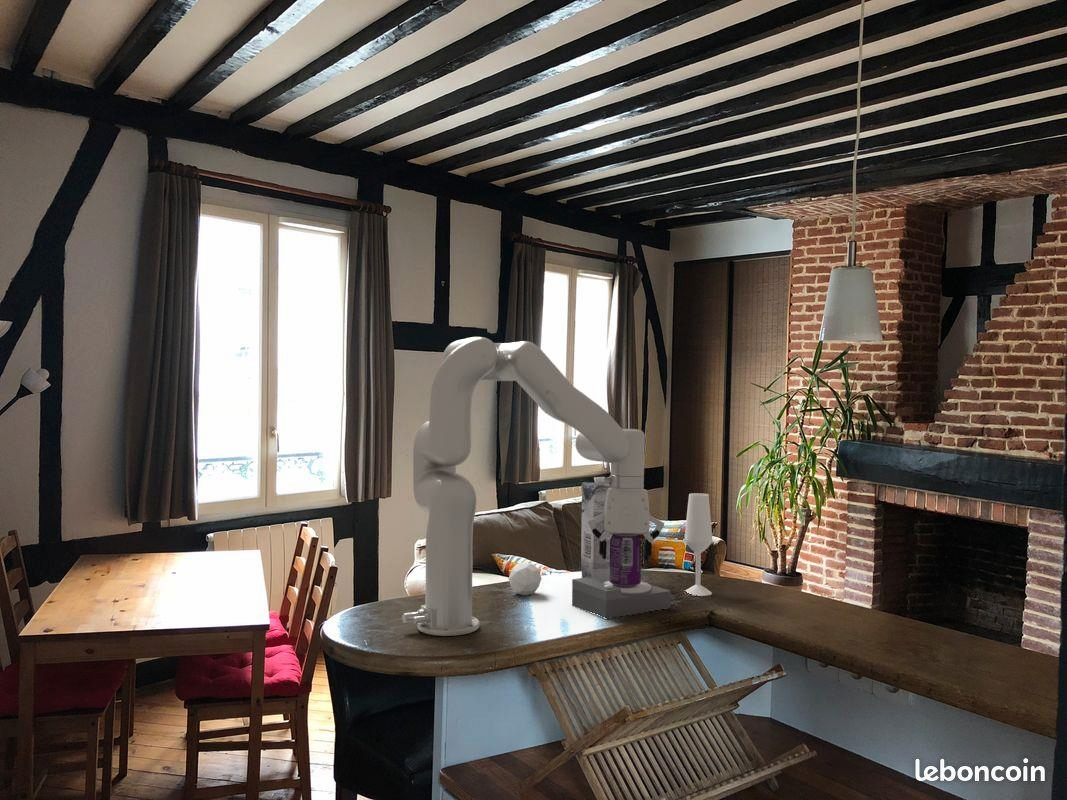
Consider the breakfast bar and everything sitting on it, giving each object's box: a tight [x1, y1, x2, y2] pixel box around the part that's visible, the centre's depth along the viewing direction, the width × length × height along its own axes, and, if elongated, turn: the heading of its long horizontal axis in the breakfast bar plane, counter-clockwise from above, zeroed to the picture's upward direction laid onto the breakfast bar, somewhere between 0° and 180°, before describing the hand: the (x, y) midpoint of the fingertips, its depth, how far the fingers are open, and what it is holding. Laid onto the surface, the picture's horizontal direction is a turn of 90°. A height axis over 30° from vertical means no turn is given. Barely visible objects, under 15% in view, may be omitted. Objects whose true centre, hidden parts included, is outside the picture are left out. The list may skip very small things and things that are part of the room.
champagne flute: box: [684, 492, 713, 597], centre depth 195 cm, size 7×7×24 cm
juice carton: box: [580, 476, 612, 583], centre depth 205 cm, size 9×10×27 cm
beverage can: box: [609, 534, 642, 588], centre depth 181 cm, size 7×7×12 cm
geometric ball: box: [508, 561, 542, 596], centre depth 192 cm, size 8×8×8 cm
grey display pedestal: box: [571, 577, 672, 618], centre depth 181 cm, size 18×13×7 cm
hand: (625, 558), depth 181 cm, fingers open, 9 cm apart
